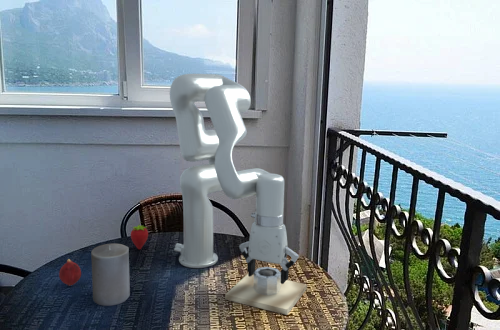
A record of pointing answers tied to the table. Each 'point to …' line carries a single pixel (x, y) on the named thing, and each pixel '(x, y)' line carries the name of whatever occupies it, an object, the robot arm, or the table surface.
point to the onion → (70, 273)
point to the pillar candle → (110, 274)
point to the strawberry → (139, 236)
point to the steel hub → (267, 281)
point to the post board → (275, 302)
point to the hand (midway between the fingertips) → (267, 278)
